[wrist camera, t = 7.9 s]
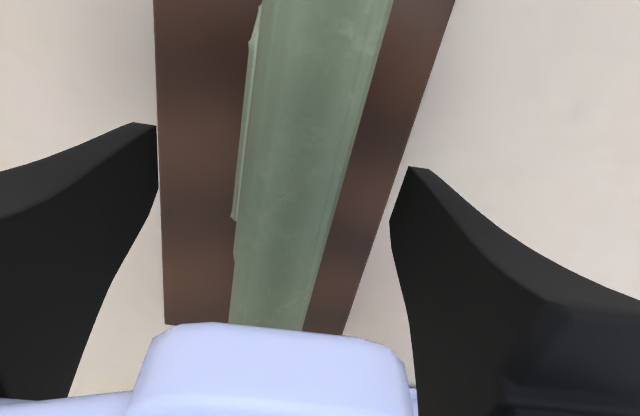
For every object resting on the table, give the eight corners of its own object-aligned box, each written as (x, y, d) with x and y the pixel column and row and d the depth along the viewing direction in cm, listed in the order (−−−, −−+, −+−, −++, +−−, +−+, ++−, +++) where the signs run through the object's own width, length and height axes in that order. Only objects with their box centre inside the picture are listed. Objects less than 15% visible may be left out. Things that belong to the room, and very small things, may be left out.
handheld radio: (225, 312, 24) (312, -458, 9) (285, 317, 24) (455, -402, 10) (205, 437, 18) (341, -946, 4) (283, 440, 19) (658, -763, 4)
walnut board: (338, 329, 26) (339, 343, 25) (169, 310, 25) (164, 324, 24) (590, -440, 10) (615, -469, 9) (146, -597, 9) (128, -648, 8)
